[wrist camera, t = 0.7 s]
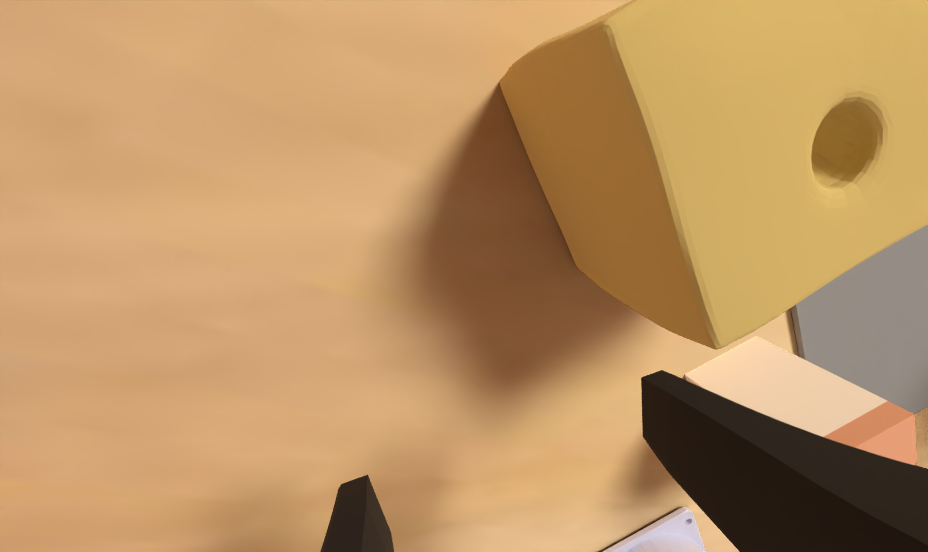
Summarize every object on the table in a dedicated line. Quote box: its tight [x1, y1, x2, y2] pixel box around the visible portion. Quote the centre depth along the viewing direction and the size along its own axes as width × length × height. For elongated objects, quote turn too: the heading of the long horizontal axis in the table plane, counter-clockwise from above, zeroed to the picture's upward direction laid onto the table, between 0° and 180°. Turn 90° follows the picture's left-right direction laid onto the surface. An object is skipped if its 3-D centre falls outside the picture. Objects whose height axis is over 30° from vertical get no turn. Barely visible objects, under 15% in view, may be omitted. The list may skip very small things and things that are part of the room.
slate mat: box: [791, 225, 928, 414], centre depth 27 cm, size 22×14×1 cm, turn 24°
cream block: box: [685, 336, 917, 465], centre depth 22 cm, size 3×5×8 cm, turn 114°
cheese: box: [500, 0, 928, 349], centre depth 16 cm, size 10×11×10 cm
